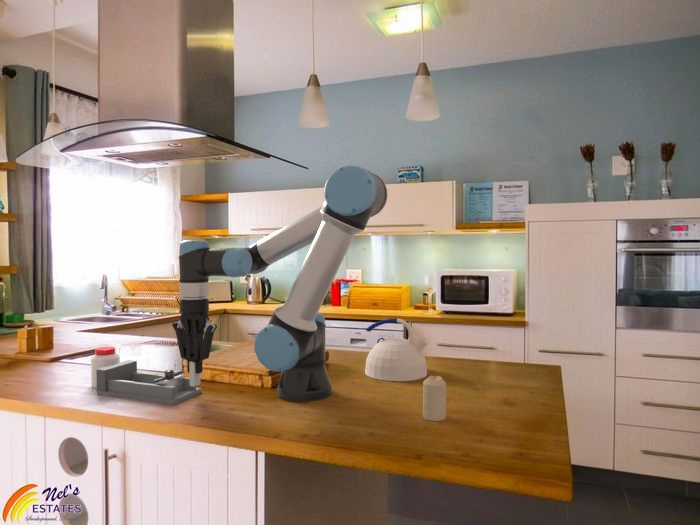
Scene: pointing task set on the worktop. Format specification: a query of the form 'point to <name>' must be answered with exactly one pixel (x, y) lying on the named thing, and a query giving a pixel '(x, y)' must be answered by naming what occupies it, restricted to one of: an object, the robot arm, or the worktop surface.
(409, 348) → the kettle
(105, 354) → the pill bottle
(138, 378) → the gauge bed
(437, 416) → the white shouldered cylinder
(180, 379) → the slider
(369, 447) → the worktop surface
